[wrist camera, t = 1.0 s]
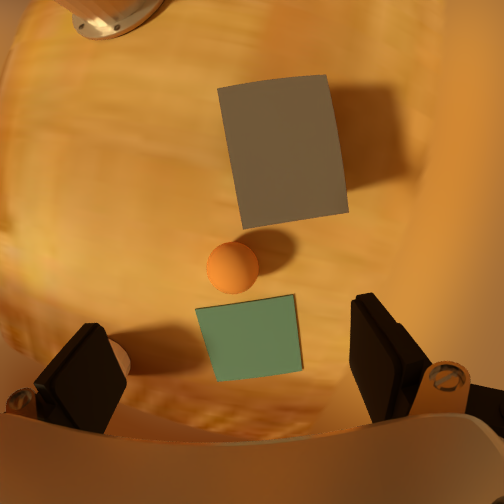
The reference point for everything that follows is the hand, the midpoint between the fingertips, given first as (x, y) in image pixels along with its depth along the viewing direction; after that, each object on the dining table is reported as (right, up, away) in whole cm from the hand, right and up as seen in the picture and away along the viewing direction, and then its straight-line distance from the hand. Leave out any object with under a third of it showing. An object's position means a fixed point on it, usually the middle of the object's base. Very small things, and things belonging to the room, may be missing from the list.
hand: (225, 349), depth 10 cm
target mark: (+1, -7, +24) cm, 25 cm away
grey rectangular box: (+3, +13, +17) cm, 22 cm away
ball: (-1, +2, +18) cm, 18 cm away
